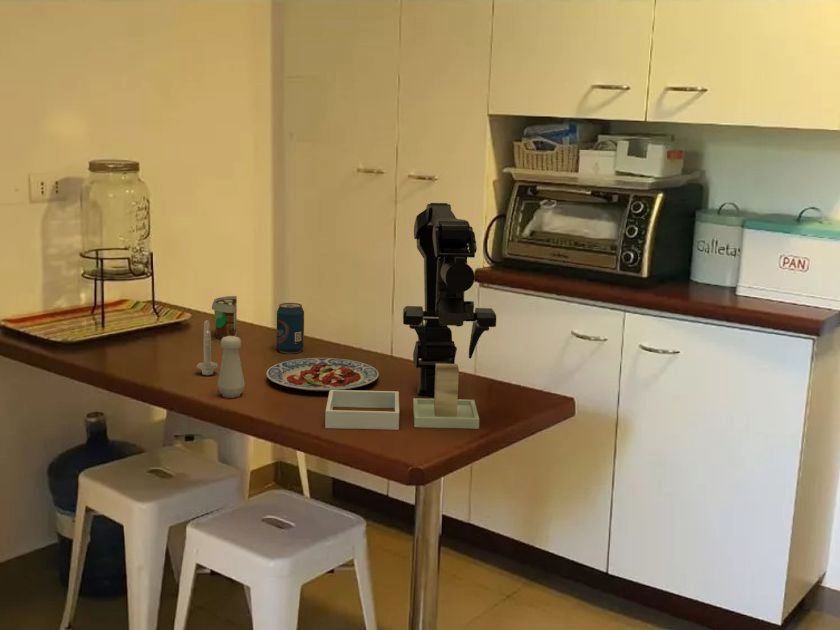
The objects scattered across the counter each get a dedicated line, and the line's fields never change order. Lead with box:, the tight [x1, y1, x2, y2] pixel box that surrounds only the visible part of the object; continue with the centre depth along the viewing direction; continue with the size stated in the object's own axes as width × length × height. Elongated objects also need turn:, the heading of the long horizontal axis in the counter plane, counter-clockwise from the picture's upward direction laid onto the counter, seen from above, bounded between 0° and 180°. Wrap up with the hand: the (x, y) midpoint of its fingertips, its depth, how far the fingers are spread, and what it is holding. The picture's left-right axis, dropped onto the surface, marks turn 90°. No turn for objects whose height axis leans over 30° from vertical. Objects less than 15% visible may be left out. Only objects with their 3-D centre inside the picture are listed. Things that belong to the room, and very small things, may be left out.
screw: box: [196, 319, 219, 376], centre depth 233 cm, size 13×5×5 cm
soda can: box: [276, 302, 305, 355], centre depth 256 cm, size 7×7×12 cm
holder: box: [324, 389, 400, 431], centre depth 207 cm, size 15×15×4 cm
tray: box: [412, 397, 480, 430], centre depth 209 cm, size 13×13×2 cm
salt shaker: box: [217, 336, 246, 399], centre depth 218 cm, size 6×6×13 cm
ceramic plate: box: [266, 357, 379, 392], centre depth 232 cm, size 26×26×3 cm
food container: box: [211, 295, 238, 341], centre depth 268 cm, size 12×6×10 cm, turn 6°
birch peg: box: [433, 363, 460, 417], centre depth 208 cm, size 4×4×10 cm
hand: (447, 357), depth 206 cm, fingers open, 9 cm apart
